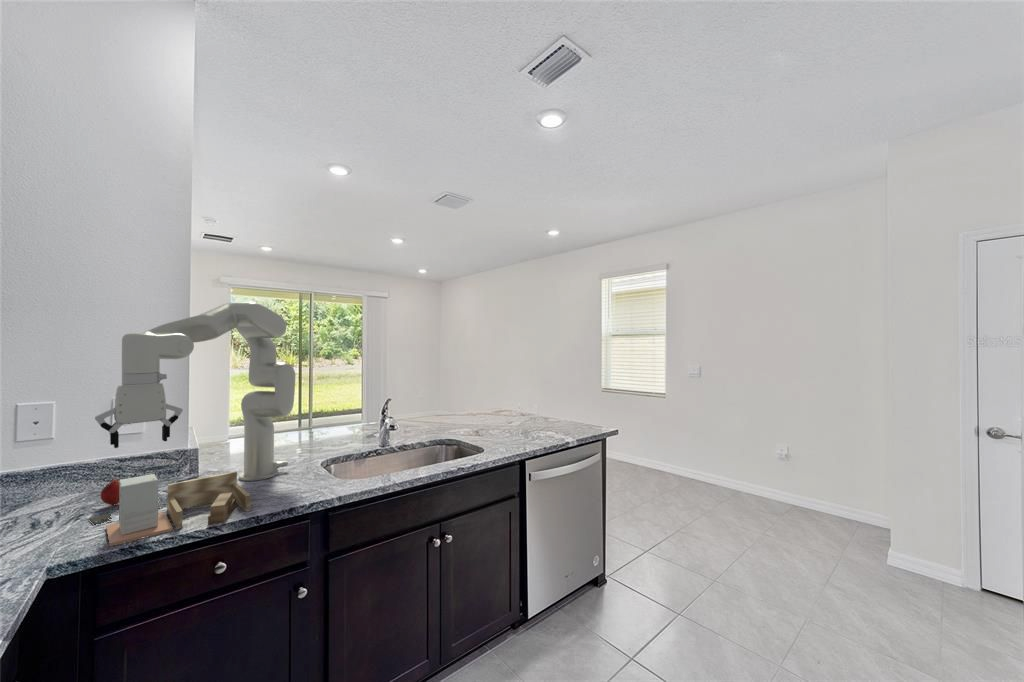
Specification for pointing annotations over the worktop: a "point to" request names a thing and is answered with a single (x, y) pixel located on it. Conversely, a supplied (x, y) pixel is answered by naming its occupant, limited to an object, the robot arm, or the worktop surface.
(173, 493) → the light wood blocky piece
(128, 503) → the supplement box
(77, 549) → the worktop surface
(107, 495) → the onion
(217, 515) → the brown wooden rectangular block
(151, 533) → the terracotta tile
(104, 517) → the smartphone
